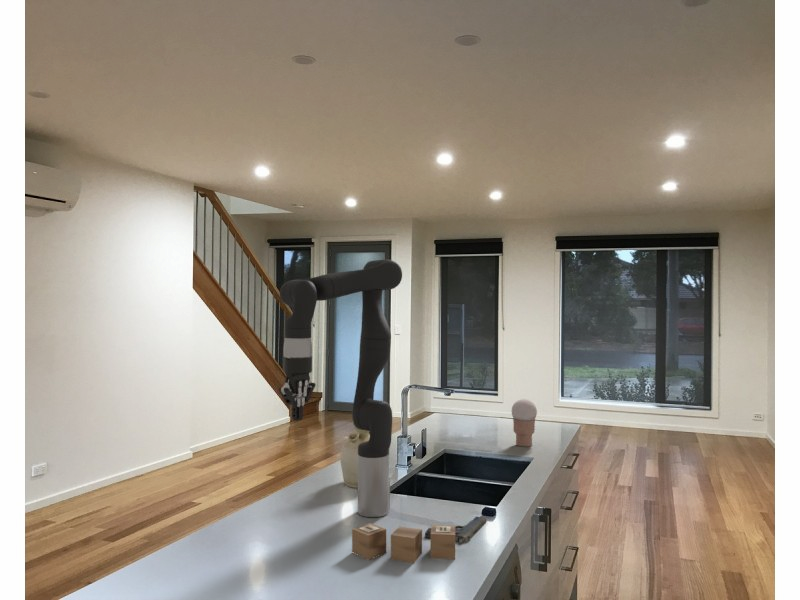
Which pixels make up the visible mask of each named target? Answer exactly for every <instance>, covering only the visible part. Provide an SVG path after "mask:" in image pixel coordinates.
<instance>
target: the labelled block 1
mask: <svg viewBox="0 0 800 600" xmlns="http://www.w3.org/2000/svg"><path fill="white" fill-rule="evenodd" d="M351 532H352V533H351V534H352V535H351V548H352V549H351V553H352V552H354V553H356V554H358V555H360V556H362V557H364V558H363V559H365V558H367V559H370V560H372V559H374V558H373V557H375V558H377V557H379V556H378V555H380V556H382V555H385V554H387V528H384V527H382V526H379V525H376V524H373V523H371V522H369V523H366V524H362V525H360V526H357V527H354V528H352V529H351ZM354 553H353V554H354ZM384 553H385V554H384ZM356 554H355V555H356ZM381 554H382V555H381ZM358 555H357V556H358ZM360 556H359V557H360ZM376 556H377V557H376ZM362 557H361V558H362ZM371 558H372V559H371ZM367 559H366V560H367Z"/></svg>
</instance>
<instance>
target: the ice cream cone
mask: <svg viewBox="0 0 800 600" xmlns="http://www.w3.org/2000/svg"><path fill="white" fill-rule="evenodd" d="M511 415H512V422H513V433H515V437H516V438H515V444H516V446H518V447H531V446H533V435H534V433H535V430H536V429H535V427H536V426H535V424H536V418H537V415H538V410H537V407H536V405H535V403H534V402H533V401H532V400H529V399H527V398H521V399H518V400H516V401H515V402H514V403H513V405H512V407H511Z"/></svg>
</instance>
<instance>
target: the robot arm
mask: <svg viewBox="0 0 800 600" xmlns="http://www.w3.org/2000/svg"><path fill="white" fill-rule="evenodd" d="M402 279H403V270H402V267H401V266H400V264H399V263H398V262H396V261H395V260H392V259H389V258H387V259H375V260H369V261H367V263H365V265H364V267H363V269H356V270H348V271H347V270H346V271H345V270H344V271H337V272H331V273H326V274H321V275H317V276H314V277H307V278H298V279H292V280H288V281H286V282H284V283H283V284H282V285H281V288H280V289H279V298H280V300H281V301H282V303H284V305H287V306H289V307H293V310H292V314H291V315H289V316H287V317H286V318H285V321H284V342H283V373H284V374H285V379H284V384H283V386H280V387H278V392H279V393H280V396H281V397H282V399H283V401H284V402H285V404H286V405H287V406H291V419H292V421H296V422H298V421H303V416H304V405H305V404H306V403H309V400H310V398H311V397H312V395H313V392H314V390H315V388H316V386H317V385H316V383H315V382H312V381H311V377H310V373H312V372H313V343H312V321H313V318H314V316H315V310H316V305H317V302H318V301H321V302H323V301H330V300H334V299H337V298H340V297H344V296H348V295H353V294H356V293H361V294H362V297H361V299H362V304H361V306H362V307H361V308H362V309H361V310H362V311H361V329H360V330H361V331H360V339H359V357H358V371H357V379H356V386H355V392H354V396H353V397H354V398H353V404H352V412H351V415H352V416H351V417H352V424H353V423H354V425H355V426H356V427H357V428H358V429H361V430H367V431H370V438H369V441H367V442H363V443H361V444H359V446H358V488H357V514H358V515H360V516H362V517H366V518H378V517H380V518H381V517H384V516H387V515H388V514H389V512H390V509H391V478H390V477H389V476H390V461H389V460H390V457H389V456H390V447H391V443H392V431H393V430H392V429H393V410H392V407H391V405H390V404H389V402H388V401H383V400H378V399H377V400H376V399H374V398H375V387H376V383H377V381H378V378H379V376H380V374H381V373H382V372H383V370H384V368H385V367H386V365H387V364H388V361H389V359H390V356H391V344H392V343H391V342H392V334H391V329H390V326H389V324H388V322H387V319H386V316H385V313H384V309H383V291H389V290H393V289H396V287H398V286H399V285H400V284H401V281H402Z"/></svg>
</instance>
